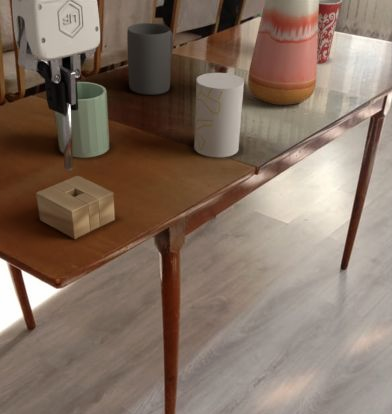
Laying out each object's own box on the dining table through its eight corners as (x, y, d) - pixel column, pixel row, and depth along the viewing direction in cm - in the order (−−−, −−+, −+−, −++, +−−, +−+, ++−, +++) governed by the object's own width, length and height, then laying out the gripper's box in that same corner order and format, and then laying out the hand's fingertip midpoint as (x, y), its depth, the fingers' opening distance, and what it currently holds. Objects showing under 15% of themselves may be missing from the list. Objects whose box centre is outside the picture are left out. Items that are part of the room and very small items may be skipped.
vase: (325, 98, 137) (352, -63, 117) (289, 115, 128) (312, -54, 109) (270, 82, 144) (288, -73, 124) (233, 97, 135) (245, -66, 115)
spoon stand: (74, 239, 90) (71, 211, 87) (39, 220, 93) (35, 192, 91) (115, 219, 94) (113, 192, 91) (80, 202, 98) (77, 175, 95)
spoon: (72, 175, 87) (69, 74, 78) (58, 167, 89) (53, 66, 79) (79, 173, 88) (76, 72, 79) (65, 165, 89) (60, 64, 80)
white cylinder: (186, 142, 116) (188, 76, 108) (224, 136, 119) (229, 70, 111) (207, 160, 111) (210, 91, 103) (246, 152, 114) (252, 85, 106)
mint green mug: (119, 147, 114) (117, 91, 107) (82, 162, 109) (76, 104, 102) (76, 128, 120) (71, 74, 113) (38, 142, 114) (30, 85, 108)
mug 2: (337, 57, 159) (347, -3, 150) (324, 67, 153) (333, 5, 144) (291, 48, 164) (299, -10, 155) (276, 57, 158) (283, -4, 149)
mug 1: (155, 98, 133) (155, 37, 125) (120, 89, 136) (118, 29, 129) (188, 81, 142) (190, 23, 134) (155, 73, 145) (154, 16, 138)
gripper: (12, -43, 64) (33, 132, 76) (121, -56, 74) (125, 103, 86) (-30, -54, 68) (-3, 115, 80) (79, -65, 77) (88, 89, 89)
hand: (63, 108), depth 83 cm, fingers closed on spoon, 1 cm apart
